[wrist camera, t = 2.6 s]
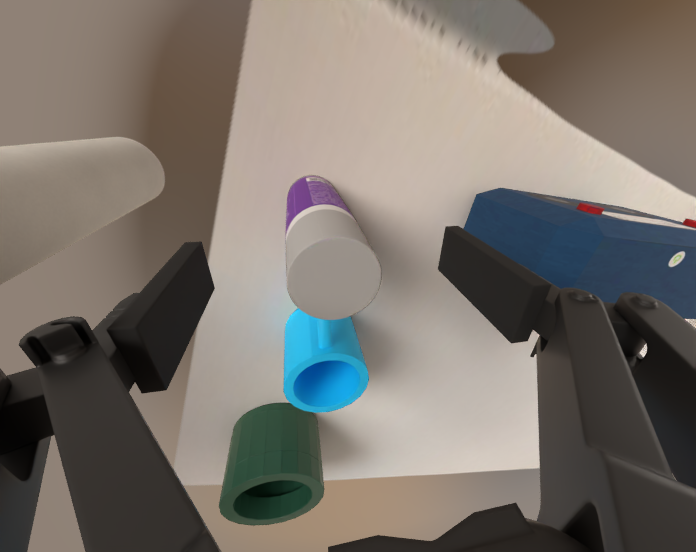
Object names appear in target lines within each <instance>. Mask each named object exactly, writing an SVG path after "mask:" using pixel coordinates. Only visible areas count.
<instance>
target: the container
mask: <svg viewBox="0 0 696 552" xmlns="http://www.w3.org/2000/svg"><path fill="white" fill-rule="evenodd" d="M285 244H286V274H287V289H288V293H289V295H290V298H291V299H292V301H293V302H294V304H295V305H296V306H297V307H298V308H299V309H300V310H301V311H303V312H304V313H306V314H308V315H310V316H312V317H315V318H319V319H324V320H337V319H343V318H346V317H349V316H352V315H354V314H356V313H358V312H360V311H361V310H363V309H364V308H365V307H366V306H367V305H368V304H369V303H370V302H371V301H372V300H373V299H374V297H375V296H376V294H377V292H378V290H379V287H380V284H381V278H382V272H381V266H380V263H379V260H378V258H377V256H376V255H375V253H374V251H373V249H372V248H371V246H370V244H369V242H368V241H367V239H366V237H365V235H364V234H363V232H362V230H361V229H360V227H359V225H358V223H357V221H356V220H355V218H354V217H353V215H352V214H351V212H350V211H349V209H348V208H347V206H346V205H345V203H344V202H343V200H342V199H341V197H340V196H339V194H338V193H337V191H336V190H335V189H334V187H333V186H332V185H331V183H330V182H328V181H327V180H326V179H324V178H322V177H320V176H315V175H308V176H304V177H302V178H300V179H298V180H297V181H295V182H294V183H293V185H292V186H291V188H290V190H289V192H288V197H287V214H286V236H285Z"/></svg>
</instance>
